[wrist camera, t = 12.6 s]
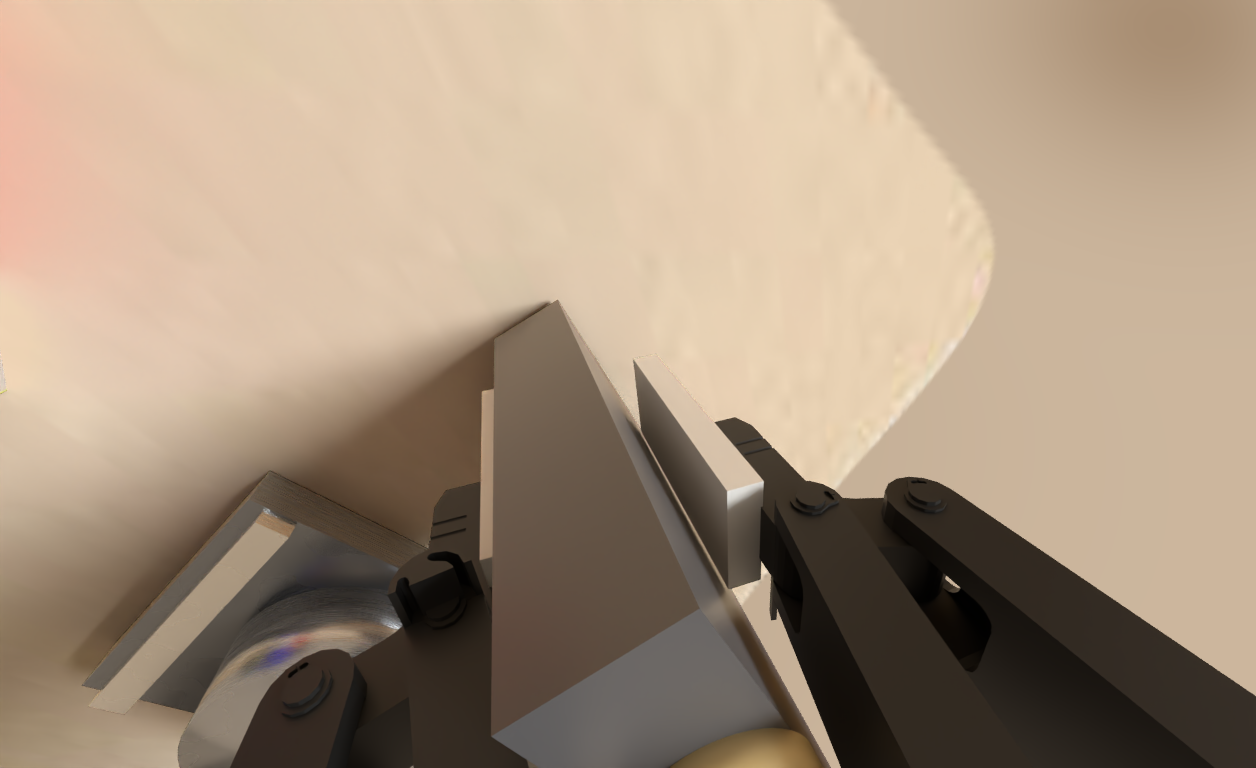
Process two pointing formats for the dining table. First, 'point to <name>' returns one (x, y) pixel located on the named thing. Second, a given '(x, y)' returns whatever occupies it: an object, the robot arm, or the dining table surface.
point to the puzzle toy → (2, 378)
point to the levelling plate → (254, 614)
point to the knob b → (612, 588)
